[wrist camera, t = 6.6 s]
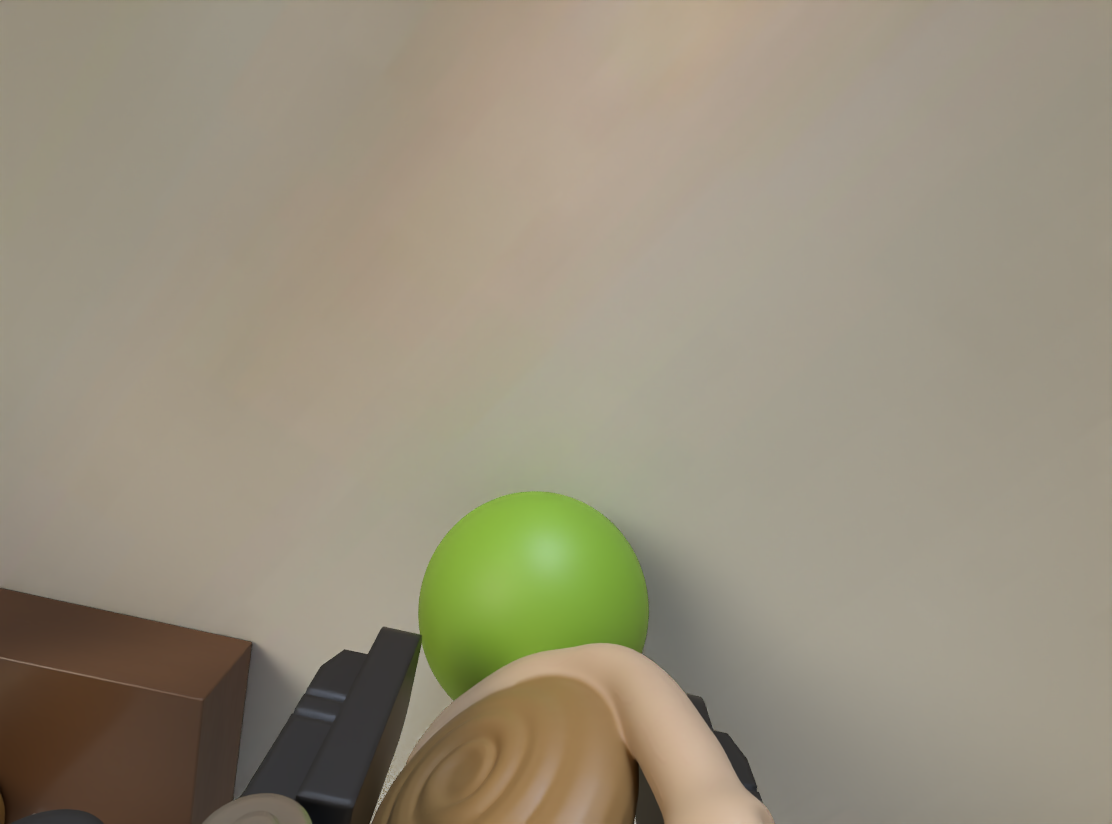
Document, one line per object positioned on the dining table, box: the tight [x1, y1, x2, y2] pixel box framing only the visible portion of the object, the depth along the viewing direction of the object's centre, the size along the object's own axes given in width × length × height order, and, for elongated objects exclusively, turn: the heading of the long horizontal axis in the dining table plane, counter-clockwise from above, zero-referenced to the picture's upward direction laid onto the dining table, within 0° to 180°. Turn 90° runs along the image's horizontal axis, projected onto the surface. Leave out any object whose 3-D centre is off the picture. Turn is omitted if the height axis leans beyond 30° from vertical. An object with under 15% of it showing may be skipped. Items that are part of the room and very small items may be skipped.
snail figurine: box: [371, 491, 775, 824], centre depth 11 cm, size 5×6×12 cm
